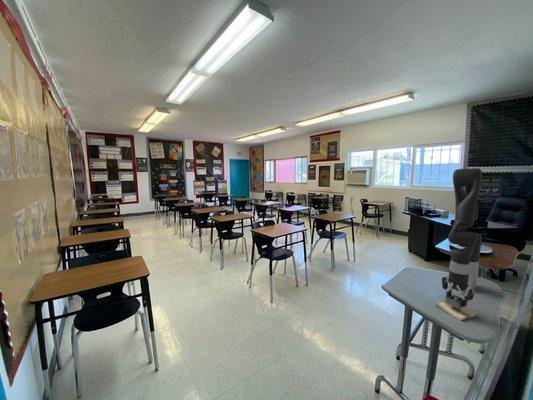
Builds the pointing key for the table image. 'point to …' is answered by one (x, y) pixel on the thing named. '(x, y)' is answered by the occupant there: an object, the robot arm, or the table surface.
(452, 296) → the link
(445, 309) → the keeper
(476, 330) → the table surface
